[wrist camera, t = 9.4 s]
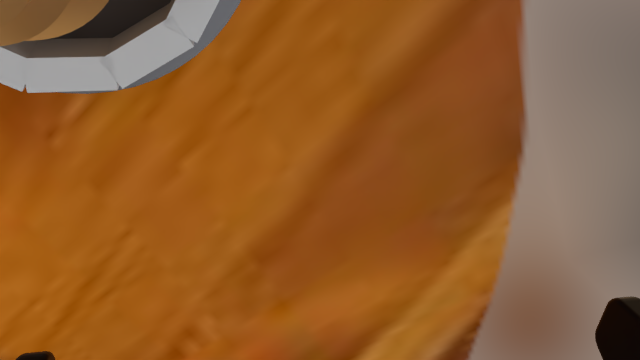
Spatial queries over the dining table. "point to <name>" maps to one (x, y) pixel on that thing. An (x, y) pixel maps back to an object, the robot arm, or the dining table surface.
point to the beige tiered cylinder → (44, 18)
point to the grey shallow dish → (116, 47)
